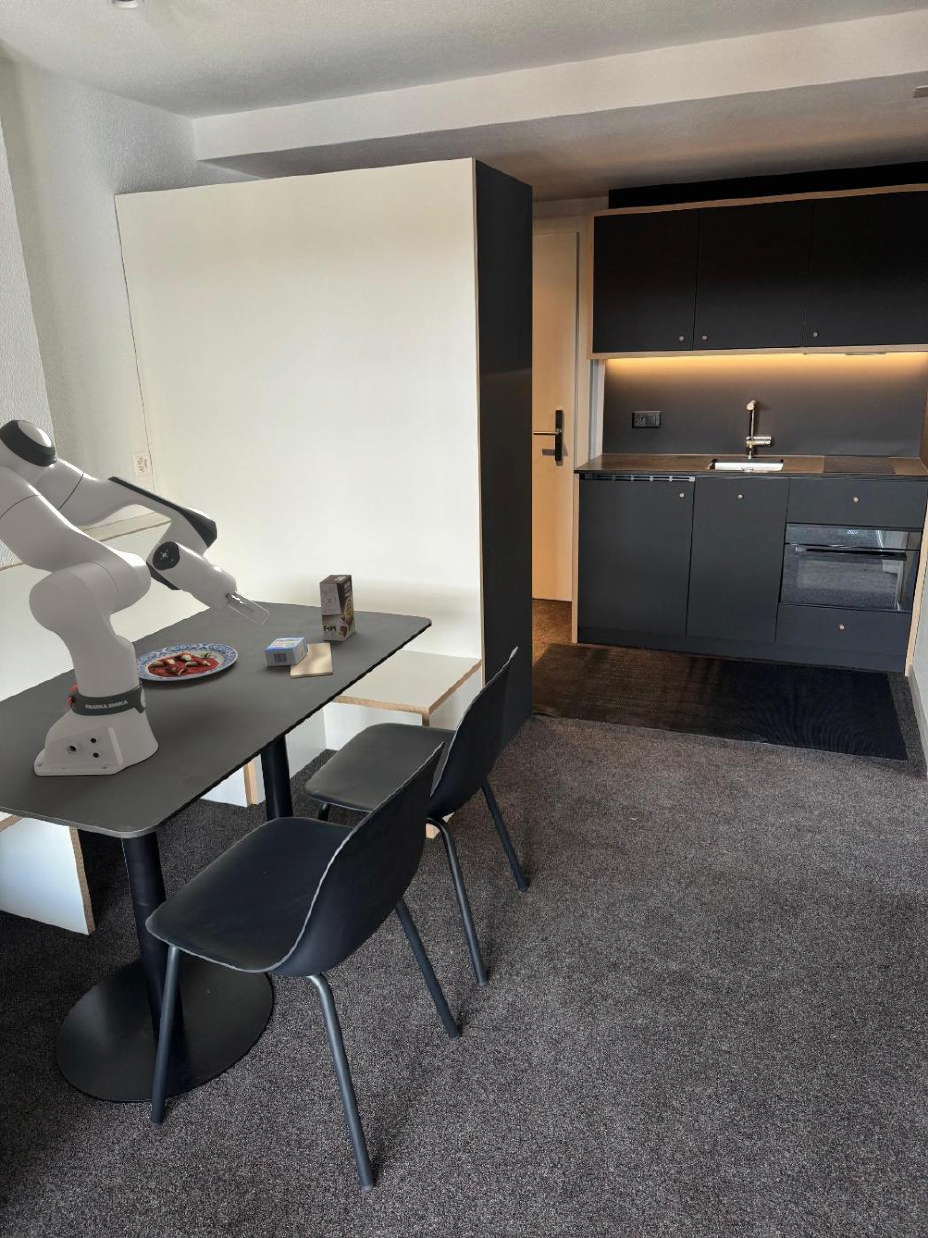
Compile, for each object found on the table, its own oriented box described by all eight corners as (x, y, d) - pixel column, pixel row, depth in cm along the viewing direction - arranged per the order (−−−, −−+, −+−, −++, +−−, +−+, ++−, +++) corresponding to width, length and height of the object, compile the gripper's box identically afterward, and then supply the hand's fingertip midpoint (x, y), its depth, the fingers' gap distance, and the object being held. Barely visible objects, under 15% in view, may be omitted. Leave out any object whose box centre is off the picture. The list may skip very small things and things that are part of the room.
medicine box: (263, 650, 216) (276, 637, 224) (267, 667, 217) (280, 653, 225) (293, 648, 214) (305, 635, 222) (297, 665, 216) (308, 651, 223)
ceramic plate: (156, 697, 201) (154, 685, 200) (115, 668, 220) (113, 657, 219) (257, 668, 217) (255, 656, 216) (210, 644, 236) (209, 633, 235)
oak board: (290, 677, 209) (290, 675, 209) (291, 647, 230) (291, 645, 230) (332, 673, 211) (332, 671, 211) (329, 644, 232) (329, 642, 232)
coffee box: (345, 641, 234) (341, 583, 229) (322, 640, 235) (318, 582, 230) (356, 630, 242) (352, 574, 237) (334, 629, 244) (329, 573, 239)
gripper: (248, 591, 193) (289, 618, 203) (202, 564, 206) (242, 591, 216) (232, 615, 192) (274, 641, 202) (187, 587, 205) (228, 613, 216)
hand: (257, 615), depth 210 cm, fingers closed
